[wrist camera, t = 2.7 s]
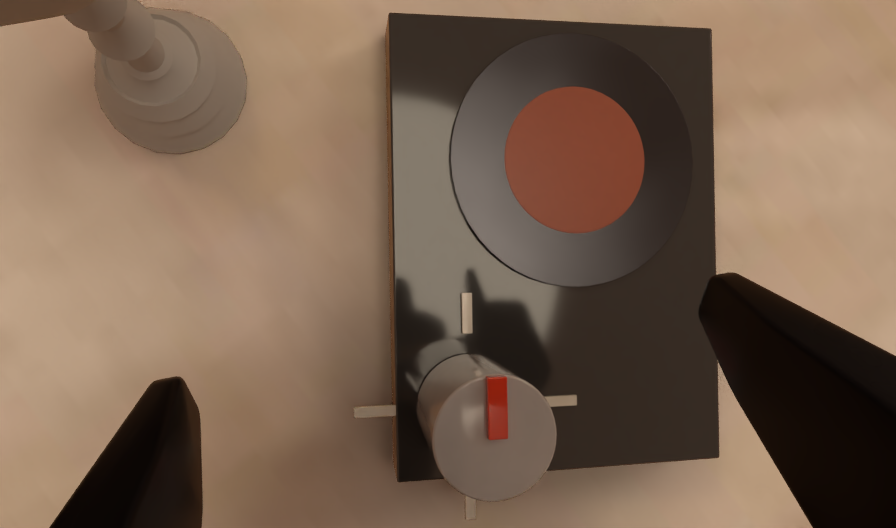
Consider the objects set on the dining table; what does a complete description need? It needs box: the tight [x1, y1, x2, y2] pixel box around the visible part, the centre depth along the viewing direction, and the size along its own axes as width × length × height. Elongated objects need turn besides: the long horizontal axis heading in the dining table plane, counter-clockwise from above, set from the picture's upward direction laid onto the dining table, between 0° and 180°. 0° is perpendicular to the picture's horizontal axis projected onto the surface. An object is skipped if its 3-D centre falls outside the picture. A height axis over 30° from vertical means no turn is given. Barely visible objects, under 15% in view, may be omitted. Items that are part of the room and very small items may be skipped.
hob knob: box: [417, 354, 557, 502], centre depth 19 cm, size 4×4×4 cm
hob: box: [354, 13, 719, 520], centre depth 22 cm, size 17×13×2 cm
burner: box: [449, 33, 693, 287], centre depth 21 cm, size 9×9×1 cm
